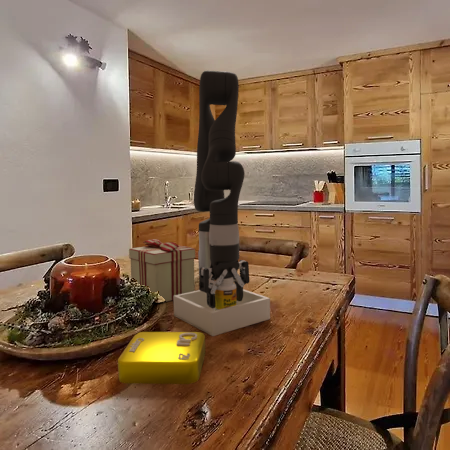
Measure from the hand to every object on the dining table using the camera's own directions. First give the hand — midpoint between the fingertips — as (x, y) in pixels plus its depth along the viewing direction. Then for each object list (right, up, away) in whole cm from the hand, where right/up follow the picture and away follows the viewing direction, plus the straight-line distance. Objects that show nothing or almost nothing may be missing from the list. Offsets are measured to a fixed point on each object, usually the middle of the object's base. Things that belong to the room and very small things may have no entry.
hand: (225, 303), depth 105 cm
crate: (-1, -4, +2) cm, 5 cm away
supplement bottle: (0, -3, 0) cm, 3 cm away
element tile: (-12, -8, -24) cm, 28 cm away
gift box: (-19, -2, +25) cm, 31 cm away
